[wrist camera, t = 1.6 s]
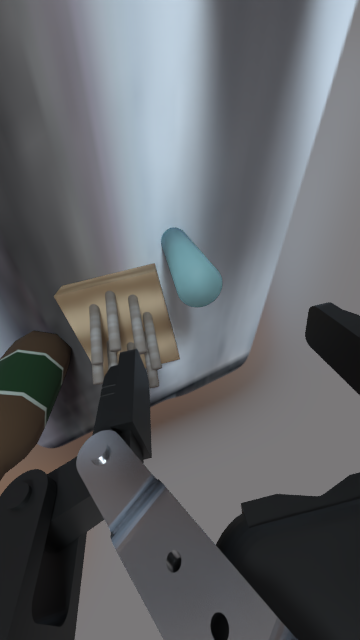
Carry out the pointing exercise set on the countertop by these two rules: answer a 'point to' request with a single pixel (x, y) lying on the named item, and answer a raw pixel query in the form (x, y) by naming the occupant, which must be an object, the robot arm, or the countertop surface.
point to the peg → (190, 269)
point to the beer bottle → (28, 392)
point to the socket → (121, 319)
